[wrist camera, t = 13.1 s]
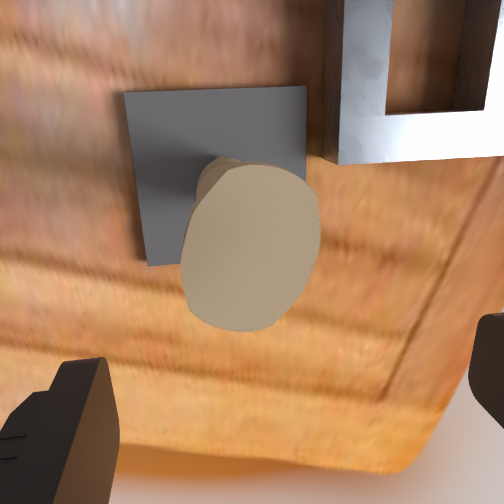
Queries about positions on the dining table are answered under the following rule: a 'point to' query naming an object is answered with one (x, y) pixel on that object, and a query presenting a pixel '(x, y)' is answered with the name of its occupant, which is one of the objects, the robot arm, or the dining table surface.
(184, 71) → the dining table surface
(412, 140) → the holder
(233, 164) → the handle
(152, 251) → the mat
